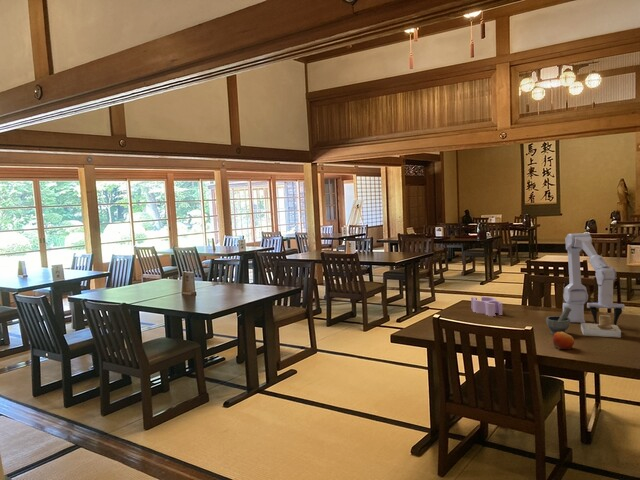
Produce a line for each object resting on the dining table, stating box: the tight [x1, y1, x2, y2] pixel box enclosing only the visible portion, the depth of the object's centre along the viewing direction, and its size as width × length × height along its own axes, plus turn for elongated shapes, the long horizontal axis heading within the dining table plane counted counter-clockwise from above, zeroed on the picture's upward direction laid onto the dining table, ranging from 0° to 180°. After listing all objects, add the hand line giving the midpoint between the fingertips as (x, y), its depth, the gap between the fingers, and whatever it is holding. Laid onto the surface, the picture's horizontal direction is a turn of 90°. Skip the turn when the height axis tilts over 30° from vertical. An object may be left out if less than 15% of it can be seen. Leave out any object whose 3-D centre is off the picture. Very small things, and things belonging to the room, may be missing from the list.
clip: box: [470, 295, 503, 317], centre depth 270 cm, size 20×12×7 cm, turn 14°
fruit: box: [552, 332, 575, 351], centre depth 204 cm, size 8×8×8 cm
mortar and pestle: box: [545, 307, 571, 335], centre depth 225 cm, size 11×9×12 cm
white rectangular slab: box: [580, 322, 622, 339], centre depth 223 cm, size 14×10×3 cm
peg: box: [598, 314, 612, 329], centre depth 222 cm, size 4×4×8 cm
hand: (605, 324), depth 222 cm, fingers open, 7 cm apart
